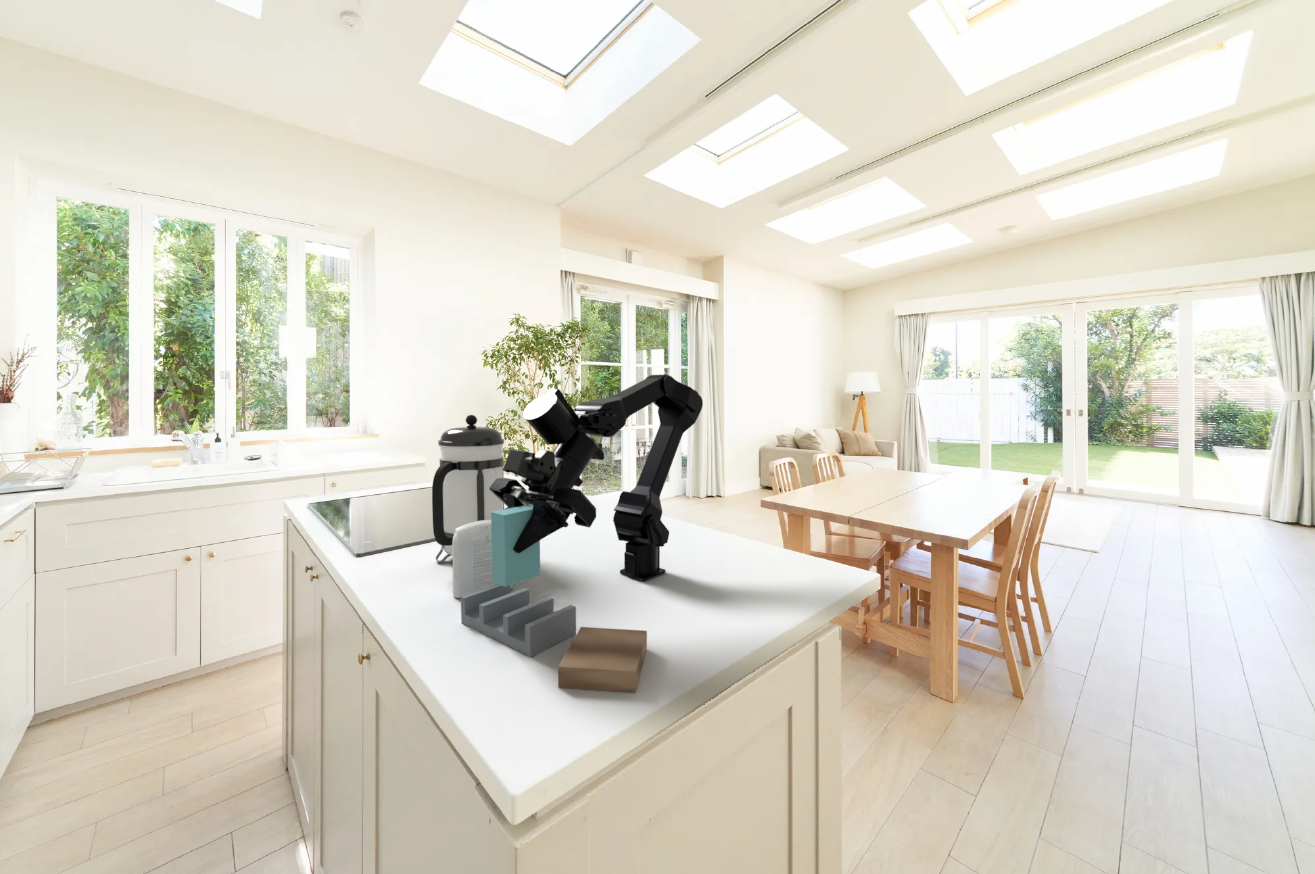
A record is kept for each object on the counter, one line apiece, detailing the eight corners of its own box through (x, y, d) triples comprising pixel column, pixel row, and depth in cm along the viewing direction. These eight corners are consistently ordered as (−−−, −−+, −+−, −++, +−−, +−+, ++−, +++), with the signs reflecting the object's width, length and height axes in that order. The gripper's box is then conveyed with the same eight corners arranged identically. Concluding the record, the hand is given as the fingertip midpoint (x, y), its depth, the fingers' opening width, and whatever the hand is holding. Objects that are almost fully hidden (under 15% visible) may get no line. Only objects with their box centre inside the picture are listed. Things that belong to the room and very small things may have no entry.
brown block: (580, 644, 67) (580, 626, 66) (646, 648, 66) (646, 630, 65) (558, 687, 57) (558, 666, 57) (635, 692, 56) (635, 671, 56)
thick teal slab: (527, 570, 74) (526, 504, 73) (540, 574, 72) (539, 507, 72) (492, 581, 69) (491, 512, 69) (505, 586, 68) (504, 515, 67)
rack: (507, 605, 79) (506, 581, 79) (575, 633, 70) (575, 606, 69) (461, 622, 73) (460, 596, 73) (530, 657, 63) (529, 627, 63)
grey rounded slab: (510, 581, 90) (509, 514, 89) (518, 588, 86) (516, 519, 85) (450, 593, 84) (448, 522, 83) (455, 601, 81) (454, 527, 80)
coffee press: (427, 552, 106) (423, 414, 104) (502, 542, 114) (500, 413, 112) (434, 578, 91) (430, 416, 89) (521, 564, 99) (519, 415, 97)
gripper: (498, 427, 78) (433, 507, 70) (581, 432, 67) (515, 528, 59) (538, 470, 85) (483, 548, 77) (619, 482, 74) (565, 574, 66)
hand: (508, 549), depth 69 cm, fingers closed on thick teal slab, 3 cm apart
